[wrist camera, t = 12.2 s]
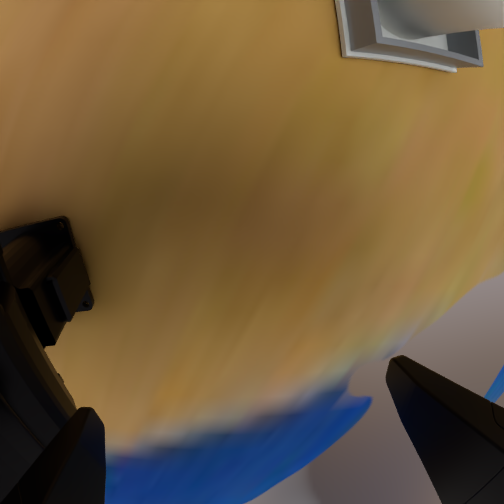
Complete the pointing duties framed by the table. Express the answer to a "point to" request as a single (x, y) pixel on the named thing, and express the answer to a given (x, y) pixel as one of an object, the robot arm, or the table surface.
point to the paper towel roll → (439, 16)
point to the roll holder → (402, 41)
